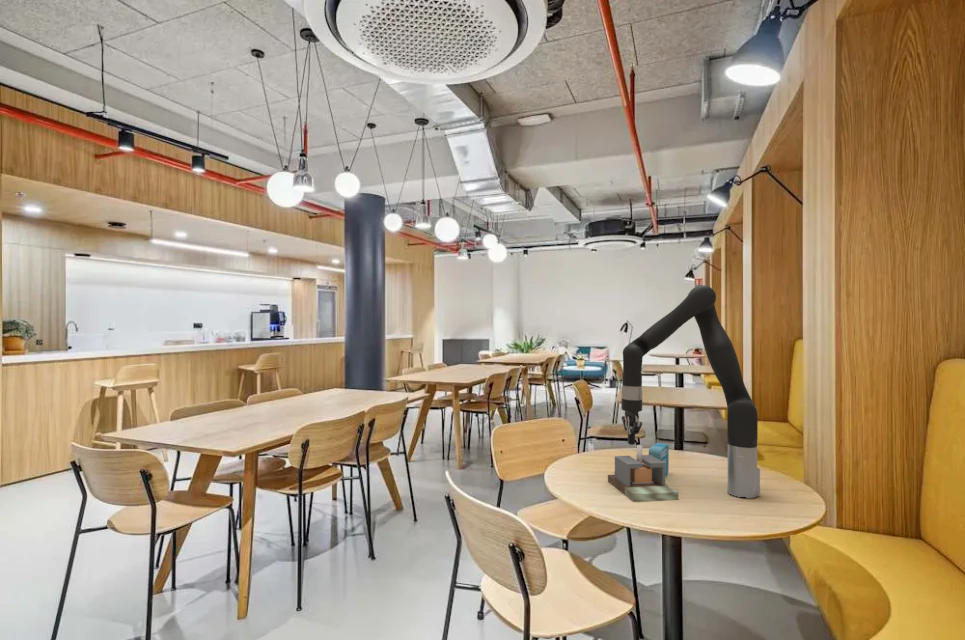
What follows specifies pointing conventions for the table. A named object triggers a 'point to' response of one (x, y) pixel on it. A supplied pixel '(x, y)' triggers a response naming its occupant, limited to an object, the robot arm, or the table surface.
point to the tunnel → (628, 462)
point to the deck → (645, 491)
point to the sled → (640, 471)
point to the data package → (661, 454)
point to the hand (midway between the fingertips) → (631, 444)
